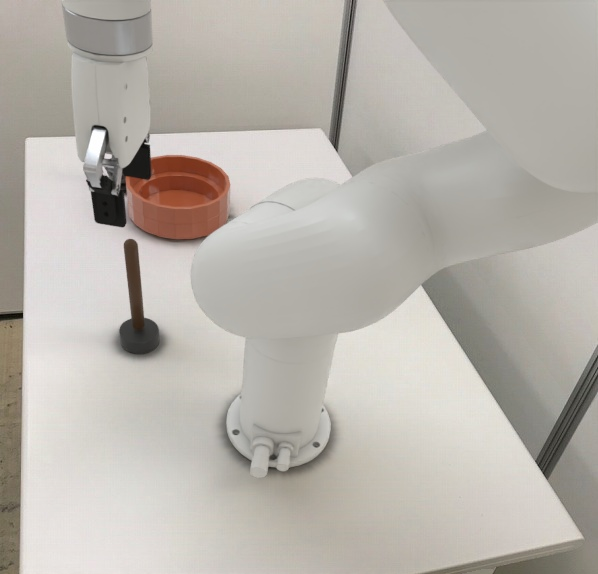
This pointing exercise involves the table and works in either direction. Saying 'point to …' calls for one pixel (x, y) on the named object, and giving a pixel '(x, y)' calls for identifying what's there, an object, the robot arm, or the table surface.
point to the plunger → (136, 308)
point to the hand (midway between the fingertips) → (124, 199)
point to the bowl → (180, 197)
